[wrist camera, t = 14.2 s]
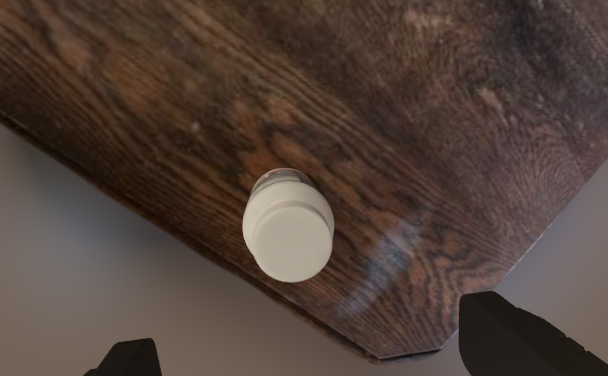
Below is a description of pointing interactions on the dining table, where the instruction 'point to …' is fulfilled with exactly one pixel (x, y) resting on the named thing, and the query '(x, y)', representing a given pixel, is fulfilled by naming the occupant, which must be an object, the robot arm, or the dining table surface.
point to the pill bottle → (288, 226)
